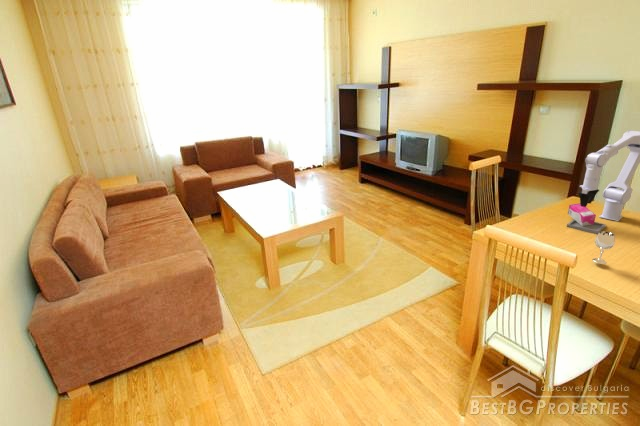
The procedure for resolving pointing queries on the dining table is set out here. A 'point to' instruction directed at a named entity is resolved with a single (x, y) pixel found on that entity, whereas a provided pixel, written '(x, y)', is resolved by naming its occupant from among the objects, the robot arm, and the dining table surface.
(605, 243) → the wineglass
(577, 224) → the tray
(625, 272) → the dining table surface
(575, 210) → the supplement box
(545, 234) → the dining table surface
